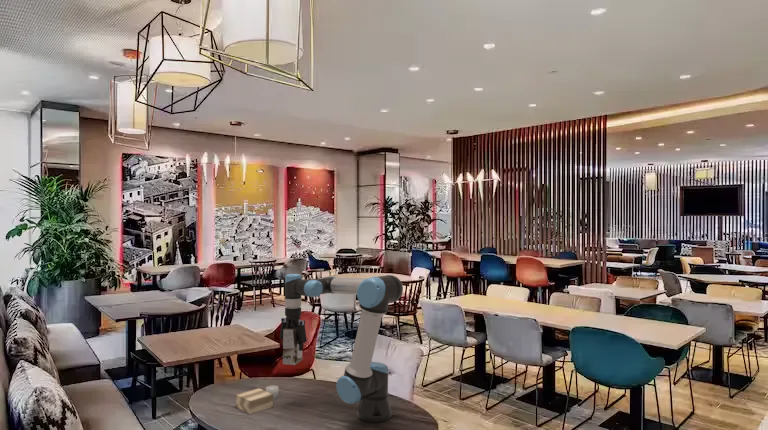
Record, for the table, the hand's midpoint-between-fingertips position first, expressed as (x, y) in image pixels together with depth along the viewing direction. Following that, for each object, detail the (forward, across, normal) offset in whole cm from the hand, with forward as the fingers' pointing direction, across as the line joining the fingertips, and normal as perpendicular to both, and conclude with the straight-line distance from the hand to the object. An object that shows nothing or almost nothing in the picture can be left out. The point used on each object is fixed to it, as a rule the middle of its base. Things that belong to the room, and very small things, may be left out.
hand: (292, 355), depth 227 cm
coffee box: (+3, 0, 0) cm, 3 cm away
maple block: (+23, +13, +12) cm, 29 cm away
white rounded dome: (+23, +16, -1) cm, 28 cm away
